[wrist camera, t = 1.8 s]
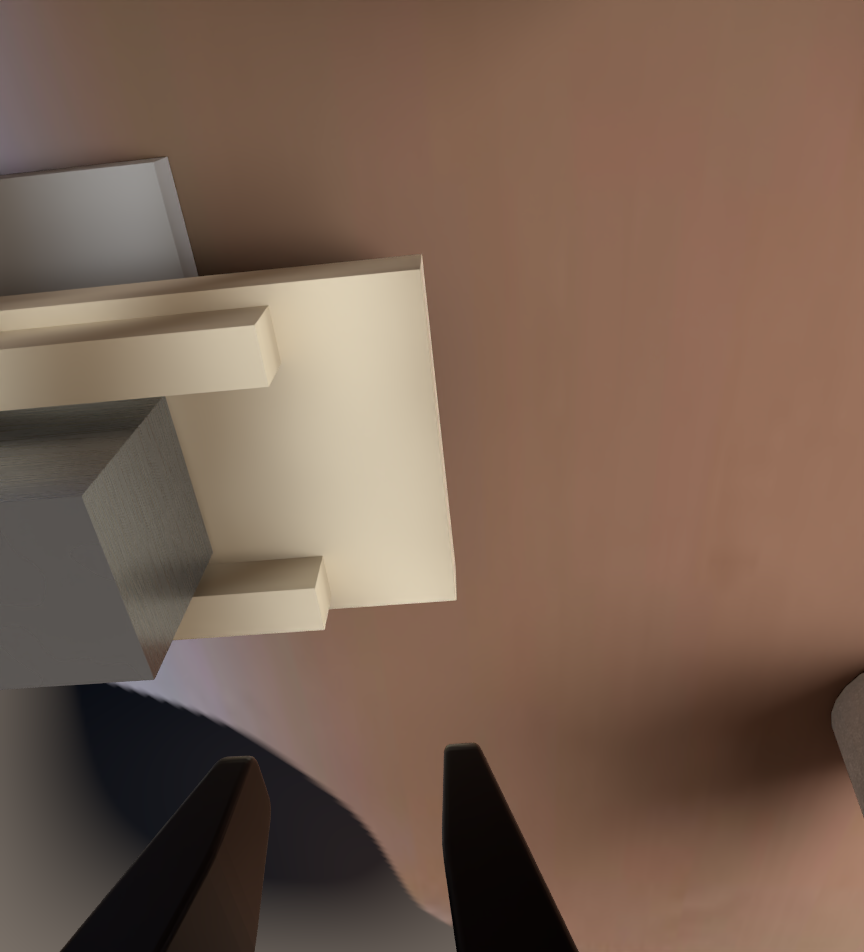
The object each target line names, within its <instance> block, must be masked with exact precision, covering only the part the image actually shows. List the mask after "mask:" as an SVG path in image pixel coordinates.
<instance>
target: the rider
mask: <svg viewBox="0 0 864 952" xmlns="http://www.w3.org/2000/svg"><path fill="white" fill-rule="evenodd" d="M212 554H213V551H212V547H211V544H210V541H209V538H208V534H207V531H206V528H205V525H204V521H203V518H202V515H201V511H200V508H199V505H198V502H197V498H196V495H195V492H194V489H193V485H192V482H191V479H190V476H189V472H188V469H187V466H186V463H185V459H184V456H183V453H182V450H181V446H180V443H179V440H178V436H177V433H176V430H175V427H174V423H173V420H172V417H171V414H170V410H169V407H168V404H167V401H166V397H165V396H161V397H150V398H139V399H128V400H117V401H106V402H95V403H84V404H73V405H62V406H51V407H40V408H29V409H18V410H7V411H0V690H3V689H18V688H32V687H49V686H64V685H79V684H93V683H110V682H125V681H140V680H154V679H155V677H156V675H157V673H158V671H159V668H160V666H161V664H162V662H163V660H164V658H165V655H166V653H167V651H168V649H169V647H170V645H171V642H172V640H173V638H174V636H175V634H176V632H177V629H178V627H179V625H180V623H181V621H182V619H183V616H184V614H185V612H186V610H187V608H188V606H189V604H190V601H191V599H192V597H193V595H194V593H195V591H196V588H197V586H198V584H199V582H200V580H201V578H202V575H203V573H204V571H205V569H206V567H207V565H208V562H209V560H210V558H211V556H212Z"/></svg>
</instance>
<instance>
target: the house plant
mask: <svg viewBox="0 0 864 952" xmlns="http://www.w3.org/2000/svg"><path fill="white" fill-rule="evenodd" d="M831 721H832V728H833V731H834V734H835V737H836V740H837V743H838V745H839V748H840V751H841V754H842V757H843V760H844V763H845V765H846V768H847V771H848V774H849V777H850V780H851V782H852V785H853V788H854V791H855V794H856V797H857V800H858V802H859V805H860V808H861V811H862V814H863V817H864V673H862V674H860V675H859V676H858V677H856V678H855V679H854V680H853V681H852V682H851V683H850V684H848V685H847V686H846V687H845V688H844V690H843V691H842V693H841V694H840V695H839V697H838V698H837V699H836V701H835V704H834V707H833V710H832V713H831Z"/></svg>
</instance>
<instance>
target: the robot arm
mask: <svg viewBox="0 0 864 952" xmlns="http://www.w3.org/2000/svg"><path fill="white" fill-rule="evenodd" d="M270 811H271V809H270V799H269V796H268V792H267V789H266V787H265V783H264V781H263V777H262V774H261V771H260V768H259V766H258V763H257V761H256V759H255V758H254V757H252V756H237V757H225V758H222V759H221V760H219V761H218V762H217V763H216V764H215V765H214V766H213V767H212V769H211V770H210V771H209V772H208V773H207V775H206V776H205V777H204V778H203V780H202V781H201V782H200V783H199V784H198V785H197V787H196V788H195V789H194V790H193V792H192V793H191V794H190V795H189V796H188V798H187V799H186V800H185V801H184V802H183V804H182V805H181V806H180V807H179V808H178V810H177V811H176V812H175V814H174V815H173V816H172V817H171V818H170V819H169V820H168V822H167V823H166V824H165V825H164V827H163V828H162V829H161V830H160V831H159V833H158V834H157V835H156V836H155V837H154V839H153V840H152V841H151V842H150V844H149V845H148V846H147V847H146V848H145V849H144V851H143V852H142V853H141V854H140V855H139V857H138V858H137V859H136V860H135V862H134V863H133V864H132V865H131V866H130V868H129V869H128V870H127V871H126V873H125V874H124V875H123V876H122V877H121V878H120V880H119V881H118V882H117V883H116V885H115V886H114V887H113V888H112V889H111V891H110V892H109V893H108V894H107V895H106V897H105V898H104V899H103V900H102V901H101V903H100V904H99V905H98V906H97V907H96V909H95V910H94V911H93V912H92V913H91V915H90V916H89V917H88V918H87V919H86V921H85V922H84V923H83V924H82V926H81V927H80V928H79V929H78V930H77V932H76V933H75V934H74V935H73V936H72V938H71V939H70V940H69V941H68V943H67V944H66V945H65V946H64V947H63V949H62V950H61V951H60V952H254V951H255V944H256V937H257V929H258V920H259V912H260V904H261V895H262V886H263V878H264V868H265V860H266V852H267V842H268V834H269V825H270V813H271V812H270ZM442 847H443V857H444V865H445V872H446V879H447V887H448V894H449V901H450V908H451V915H452V922H453V929H454V936H455V943H456V949H457V952H579V951H578V949H577V947H576V945H575V943H574V941H573V939H572V937H571V935H570V933H569V931H568V929H567V926H566V924H565V922H564V920H563V918H562V916H561V914H560V912H559V910H558V908H557V906H556V904H555V901H554V899H553V897H552V895H551V893H550V891H549V889H548V887H547V885H546V883H545V881H544V879H543V876H542V874H541V872H540V870H539V868H538V866H537V864H536V862H535V860H534V858H533V856H532V854H531V852H530V849H529V847H528V845H527V843H526V841H525V839H524V837H523V835H522V833H521V831H520V829H519V827H518V824H517V822H516V820H515V818H514V816H513V814H512V812H511V810H510V808H509V806H508V804H507V802H506V800H505V797H504V795H503V793H502V791H501V789H500V787H499V785H498V783H497V781H496V779H495V777H494V775H493V772H492V770H491V768H490V766H489V764H488V762H487V760H486V758H485V756H484V754H483V752H482V750H481V748H480V746H479V745H478V744H476V743H461V744H449V745H447V746H446V748H445V750H444V774H443V812H442Z"/></svg>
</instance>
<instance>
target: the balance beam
mask: <svg viewBox="0 0 864 952" xmlns="http://www.w3.org/2000/svg"><path fill="white" fill-rule="evenodd" d="M161 396H165V397H166V401H167V404H168V407H169V410H170V414H171V417H172V420H173V423H174V427H175V430H176V433H177V436H178V440H179V443H180V446H181V450H182V453H183V456H184V459H185V463H186V466H187V469H188V472H189V476H190V479H191V482H192V485H193V489H194V492H195V495H196V498H197V502H198V505H199V508H200V511H201V515H202V518H203V521H204V525H205V528H206V531H207V534H208V538H209V541H210V544H211V547H212V551H213V554H212V556H211V558H210V560H209V562H208V565H207V567H206V569H205V571H204V573H203V575H202V578H201V580H200V582H199V584H198V586H197V588H196V591H195V593H194V595H193V597H192V599H191V601H190V604H189V606H188V608H187V610H186V612H185V614H184V616H183V619H182V621H181V623H180V625H179V627H178V629H177V632H176V634H175V636H174V638H173V640H182V639H197V638H211V637H226V636H240V635H255V634H270V633H284V632H299V631H313V630H324V629H325V625H326V620H327V615H328V610H329V609H339V608H353V607H367V606H381V605H396V604H410V603H424V602H438V601H452V600H456V568H455V558H454V549H453V540H452V530H451V521H450V512H449V503H448V493H447V484H446V475H445V465H444V456H443V447H442V437H441V428H440V419H439V410H438V400H437V391H436V382H435V372H434V363H433V354H432V344H431V335H430V326H429V317H428V307H427V298H426V289H425V279H424V270H423V261H422V254H418V255H408V256H398V257H388V258H378V259H368V260H358V261H348V262H338V263H328V264H318V265H309V266H299V267H289V268H279V269H269V270H259V271H249V272H239V273H229V274H219V275H209V276H199V277H198V273H197V269H196V265H195V261H194V257H193V253H192V250H191V246H190V242H189V238H188V234H187V230H186V226H185V223H184V219H183V215H182V211H181V207H180V203H179V199H178V196H177V192H176V188H175V184H174V180H173V176H172V172H171V169H170V165H169V161H168V157H161V158H152V159H143V160H134V161H125V162H116V163H107V164H98V165H89V166H80V167H71V168H62V169H53V170H44V171H36V172H27V173H18V174H9V175H0V411H7V410H18V409H29V408H40V407H51V406H62V405H73V404H84V403H95V402H106V401H117V400H128V399H139V398H150V397H161Z"/></svg>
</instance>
